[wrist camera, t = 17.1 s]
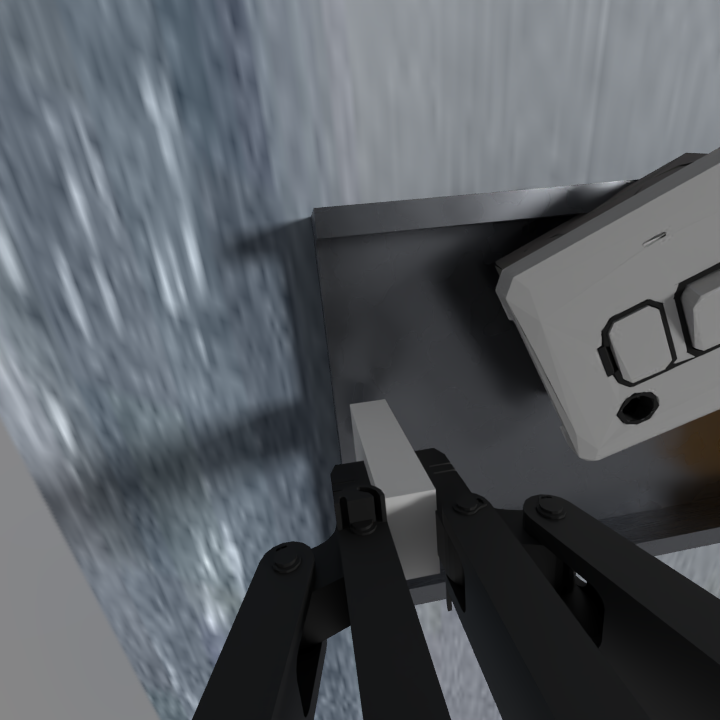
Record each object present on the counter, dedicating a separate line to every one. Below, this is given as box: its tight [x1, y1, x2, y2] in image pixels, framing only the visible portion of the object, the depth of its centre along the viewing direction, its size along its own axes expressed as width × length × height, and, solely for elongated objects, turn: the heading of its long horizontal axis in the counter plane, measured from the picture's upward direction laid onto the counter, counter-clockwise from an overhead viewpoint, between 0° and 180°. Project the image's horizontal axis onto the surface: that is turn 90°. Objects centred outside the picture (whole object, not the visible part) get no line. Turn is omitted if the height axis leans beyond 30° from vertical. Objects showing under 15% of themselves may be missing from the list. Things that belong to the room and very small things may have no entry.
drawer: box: [311, 179, 720, 605], centre depth 17 cm, size 18×24×8 cm
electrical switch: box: [495, 148, 720, 461], centre depth 15 cm, size 9×5×9 cm
